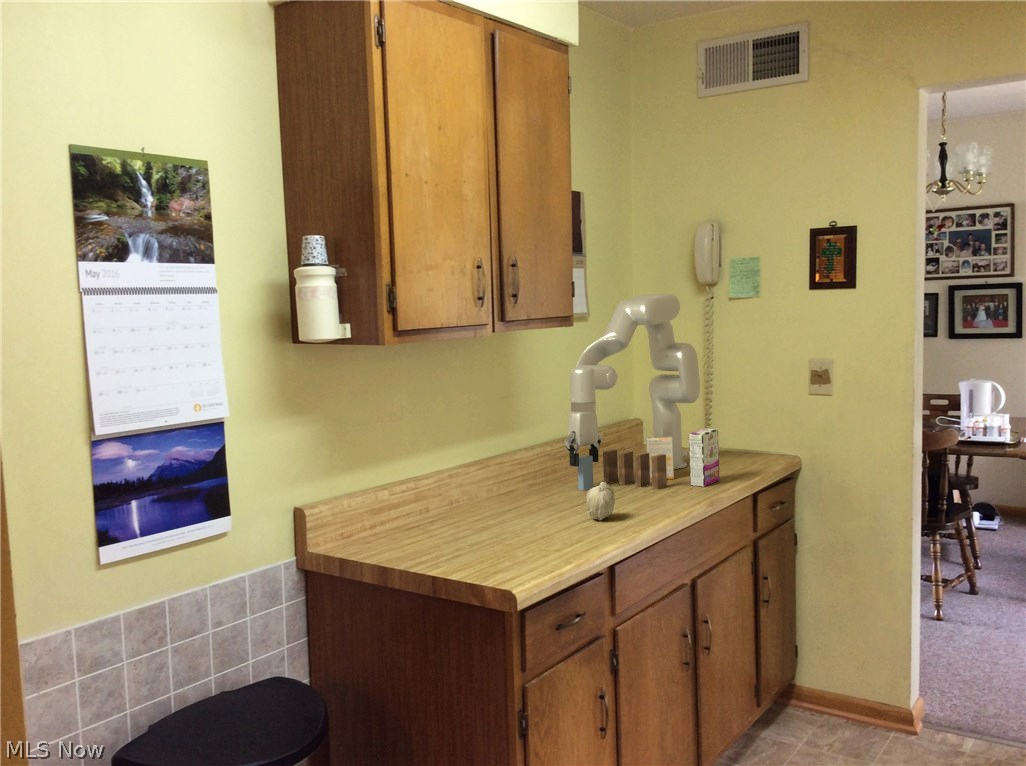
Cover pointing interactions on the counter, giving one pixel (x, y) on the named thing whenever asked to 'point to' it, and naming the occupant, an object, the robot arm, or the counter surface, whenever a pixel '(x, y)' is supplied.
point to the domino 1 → (585, 473)
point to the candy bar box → (704, 457)
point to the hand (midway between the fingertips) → (584, 463)
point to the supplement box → (661, 452)
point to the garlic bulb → (600, 501)
